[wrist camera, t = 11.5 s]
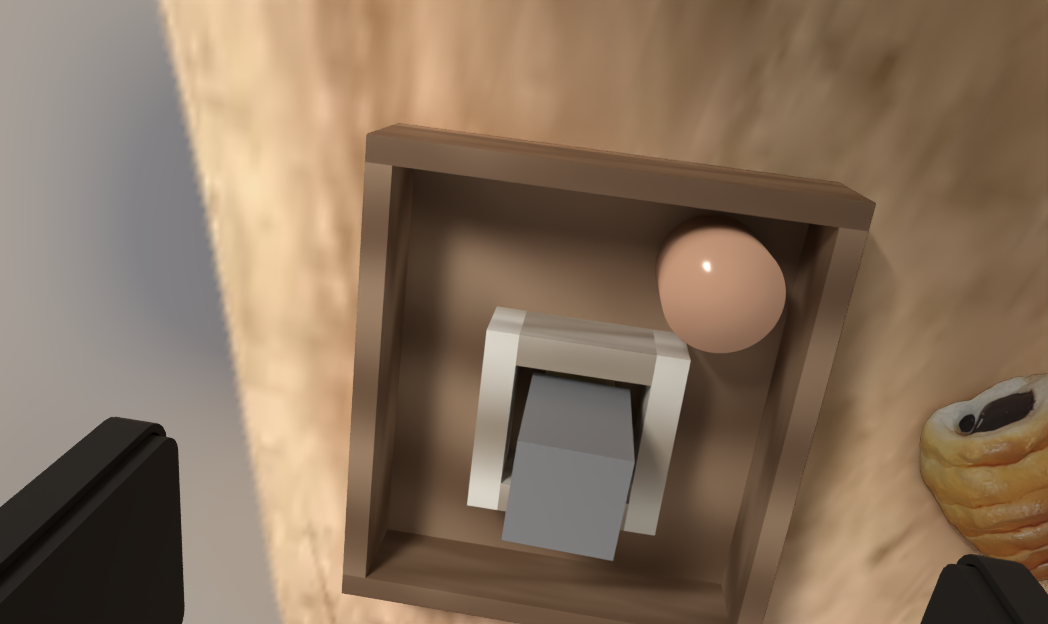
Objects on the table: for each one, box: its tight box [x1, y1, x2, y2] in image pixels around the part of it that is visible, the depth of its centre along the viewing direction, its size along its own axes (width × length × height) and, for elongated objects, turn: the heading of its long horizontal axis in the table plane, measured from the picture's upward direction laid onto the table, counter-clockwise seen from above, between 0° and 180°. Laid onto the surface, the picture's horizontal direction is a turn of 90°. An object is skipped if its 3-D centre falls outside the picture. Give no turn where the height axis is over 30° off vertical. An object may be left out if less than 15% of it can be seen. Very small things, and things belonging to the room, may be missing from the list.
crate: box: [342, 123, 876, 624], centre depth 33 cm, size 20×18×4 cm
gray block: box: [501, 370, 635, 561], centre depth 31 cm, size 4×4×8 cm
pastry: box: [920, 374, 1048, 581], centre depth 33 cm, size 9×7×4 cm
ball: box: [655, 215, 786, 353], centre depth 30 cm, size 4×4×4 cm
